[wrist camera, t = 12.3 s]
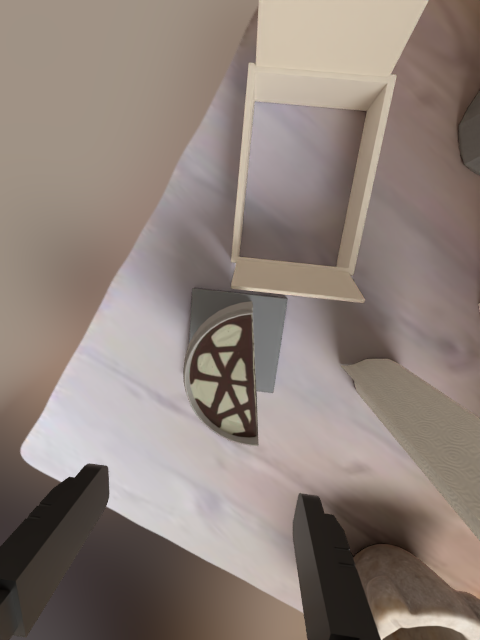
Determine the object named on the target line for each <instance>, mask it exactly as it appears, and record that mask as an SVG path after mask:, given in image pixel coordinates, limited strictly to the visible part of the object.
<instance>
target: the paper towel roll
mask: <svg viewBox="0 0 480 640" xmlns="http://www.w3.org/2000/svg"><path fill="white" fill-rule="evenodd" d="M341 366H342V368H343V369H344V370H345V371H346V372H347V373H348V374H349V376H350V377H351V378H352V379H353V380H354V381H355V382H354V384H355V388H356V391H357V393H358V394H359V395H360V397H361V398H362V399H363V400H364V401H365V403H366V404H367V405H368V406H369V408H370V409H371V410H372V411H373V412H374V414H375V415H376V416H377V417H378V418H379V420H380V421H381V422H382V423H383V424H384V426H385V427H386V428H387V429H388V430H389V432H390V433H391V434H392V435H393V437H394V438H395V439H396V440H397V441H398V443H399V444H400V445H401V446H402V447H403V449H404V450H405V451H406V452H407V453H408V455H409V456H410V457H411V458H412V460H413V461H414V462H415V463H416V464H417V466H418V467H419V468H420V469H421V470H422V472H423V473H424V474H425V475H426V476H427V478H428V479H429V480H430V481H431V482H432V484H433V485H434V486H435V487H436V489H437V490H438V491H439V492H440V493H441V495H442V496H443V497H444V498H445V499H446V501H447V502H448V503H449V504H450V505H451V507H452V508H453V509H454V510H455V511H456V513H457V514H458V515H459V516H460V518H461V519H462V520H463V521H464V522H465V524H466V525H467V526H468V527H469V528H470V530H471V531H472V532H473V533H474V534H475V536H476V537H477V538H478V539H479V541H480V418H479V417H477V416H476V415H474V414H473V413H471V412H470V411H468V410H467V409H465V408H464V407H462V406H461V405H459V404H458V403H456V402H455V401H453V400H452V399H451V398H449V397H448V396H446V395H445V394H443V393H442V392H440V391H439V390H437V389H436V388H434V387H433V386H431V385H430V384H428V383H427V382H425V381H424V380H422V379H421V378H419V377H418V376H416V375H415V374H413V373H412V372H410V371H409V370H407V369H406V368H404V367H403V366H401V365H400V364H398V363H397V362H394V361H392V360H390V359H365V360H363V361H361V362H358V363H356V364H352V365H347V366H343V365H341Z"/></svg>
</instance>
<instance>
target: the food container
mask: <svg viewBox="0 0 480 640" xmlns="http://www.w3.org/2000/svg"><path fill="white" fill-rule="evenodd" d="M183 375H184V386H185V391H186V394H187V397H188V400H189V402H190V405H191V407H192V409H193V410H194V412H195V414H196V415H197V416H198V418H199V419H200V420H201V421H202V423H204V424H205V425H206V426H207V427H208V428H209V429H210V430H212V431H213V432H214V433H216V434H217V435H219V436H221V437H223V438H225V439H227V440H230V441H233V442H236V443H239V444H244V445H250V446H258V420H257V393H256V367H255V344H254V320H253V304H252V301H250V302H242V303H238V304H235V305H231V306H228V307H226V308H224V309H222V310H220V311H218V312H216V313H215V314H214V315H212V316H211V317H209V318H208V319H207V320H206V321H205V322H204V323H203V324H202V325H201V326H200V327H199V328H198V330H197V331H196V332H195V334H194V335H193V337H192V339H191V341H190V343H189V346H188V349H187V352H186V357H185V363H184V371H183Z"/></svg>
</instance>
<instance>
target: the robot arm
mask: <svg viewBox="0 0 480 640" xmlns="http://www.w3.org/2000/svg"><path fill="white" fill-rule="evenodd" d="M108 499H109V475H108V467H107V466H104V465H97V464H87V465H85V466H84V467H83V468H82V470H81V471H80V472H79V473H78V474H77V476H76V477H75V478H73V477H68V478H67V479H66V480H64V481H63V482H61V483H60V484H59V485H58V486H56V487H54V488H53V489H52V490H51V491H50V492H49V494H48V495H47V496H46V497H45V498H44V499H43V500H42V501H41V502H40V505H39V506H37V507H36V508H35V509H34V510H33V511H32V512H31V513H30V515H29V516H28V518H27V519H25V520H24V521H23V522H22V524H20V526H19V527H18V528H17V529H16V530H15V531H14V532H13V533H12V535H10V537H9V538H8V539H7V540H6V541H5V542H4V543H3V545H1V546H0V640H9V639H10V638H11V637H12V635H15V636H21V637H27V635H28V633H29V632H30V630H31V629H32V627H33V625H34V624H35V622H36V621H37V619H38V617H39V616H40V614H41V613H42V611H43V609H44V608H45V606H46V604H47V603H48V601H49V600H50V598H51V596H52V595H53V593H54V591H55V590H56V588H57V586H58V585H59V583H60V582H61V580H62V578H63V577H64V575H65V574H66V572H67V570H68V569H69V567H70V565H71V564H72V562H73V561H74V559H75V557H76V556H77V554H78V552H79V551H80V549H81V547H82V546H83V544H84V543H85V541H86V539H87V538H88V536H89V534H90V533H91V531H92V530H93V528H94V526H95V525H96V523H97V521H98V520H99V518H100V517H101V515H102V513H103V512H104V509H105V507H106V505H107V502H108ZM293 542H294V549H295V556H296V563H297V570H298V577H299V584H300V591H301V598H302V605H303V612H304V619H305V625H306V632H307V639H308V640H381V638H380V635H379V633H378V630H377V627H376V624H375V621H374V618H373V615H372V612H371V609H370V606H369V603H368V600H367V597H366V594H365V591H364V588H363V586H362V583H361V580H360V577H359V574H358V571H357V569H356V567H355V562H354V559H353V556H352V553H351V552H350V547H349V544H348V542H347V539H346V536H345V533H344V530H343V529H342V527H341V526H340V524H339V523H338V521H337V520H336V518H335V517H334V515H330V514H324V511H323V507H322V504H321V500H320V498H319V496H316V495H308V494H301V493H299V495H298V500H297V505H296V510H295V515H294V520H293Z"/></svg>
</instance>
